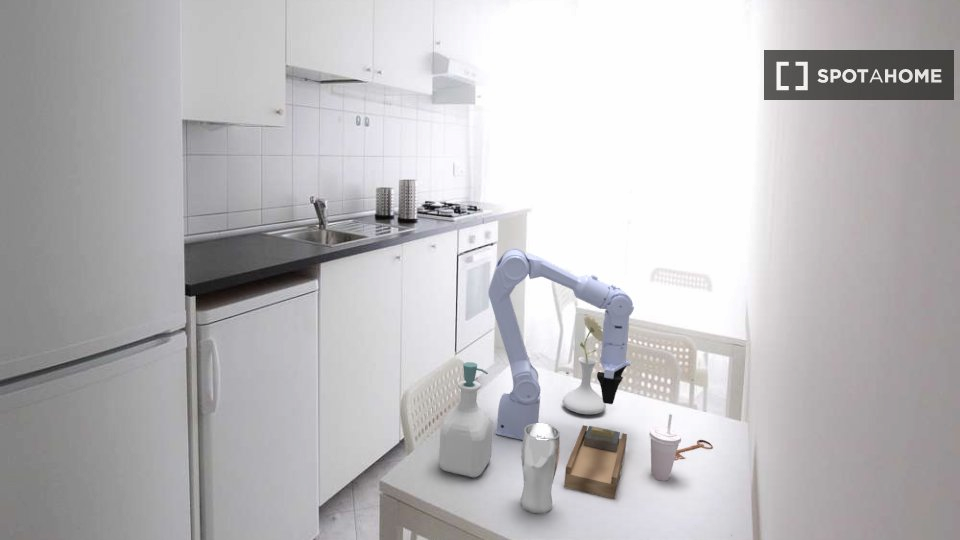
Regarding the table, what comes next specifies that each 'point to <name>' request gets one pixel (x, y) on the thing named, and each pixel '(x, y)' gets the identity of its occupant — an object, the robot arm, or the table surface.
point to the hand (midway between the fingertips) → (610, 397)
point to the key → (692, 449)
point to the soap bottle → (466, 431)
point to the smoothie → (663, 450)
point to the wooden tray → (594, 467)
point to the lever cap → (602, 439)
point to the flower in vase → (586, 379)
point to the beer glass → (539, 466)
